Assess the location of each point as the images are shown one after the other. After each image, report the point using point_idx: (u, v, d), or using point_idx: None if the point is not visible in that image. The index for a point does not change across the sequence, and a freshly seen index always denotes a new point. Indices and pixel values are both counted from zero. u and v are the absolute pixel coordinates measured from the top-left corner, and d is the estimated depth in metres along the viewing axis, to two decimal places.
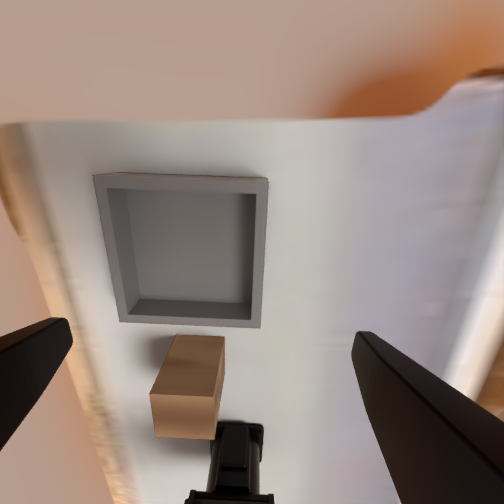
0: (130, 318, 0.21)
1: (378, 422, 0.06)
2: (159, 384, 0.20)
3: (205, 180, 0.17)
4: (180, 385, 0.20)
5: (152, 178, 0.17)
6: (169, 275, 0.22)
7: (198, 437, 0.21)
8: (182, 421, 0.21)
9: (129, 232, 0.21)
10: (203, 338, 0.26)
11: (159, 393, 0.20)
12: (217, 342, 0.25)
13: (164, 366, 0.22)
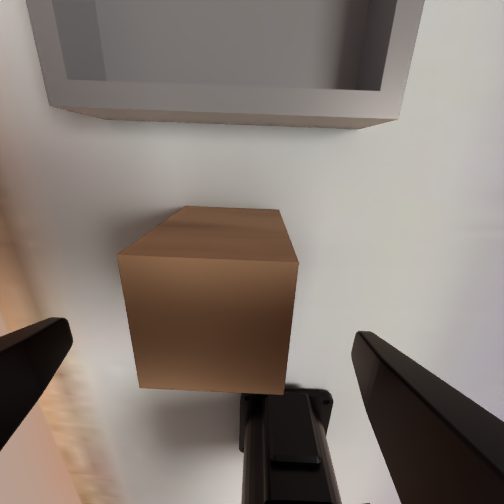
0: (75, 92, 0.08)
1: (378, 422, 0.06)
2: (146, 244, 0.08)
3: None
4: (201, 247, 0.08)
5: None
6: (172, 22, 0.10)
7: (243, 390, 0.09)
8: (207, 343, 0.08)
9: None
10: (238, 209, 0.13)
11: (145, 256, 0.07)
12: (268, 213, 0.12)
13: (160, 228, 0.09)
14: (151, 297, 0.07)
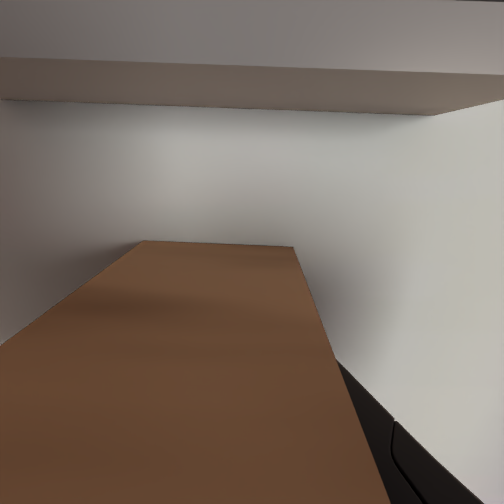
0: None
1: None
2: None
3: None
4: (98, 433, 0.03)
5: None
6: None
7: None
8: None
9: None
10: (228, 248, 0.08)
11: None
12: (276, 256, 0.07)
13: (52, 317, 0.04)
14: None
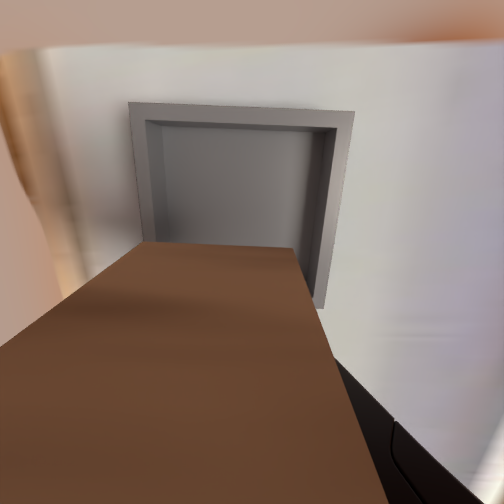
0: None
1: None
2: None
3: (272, 109, 0.13)
4: (95, 437, 0.03)
5: (204, 106, 0.13)
6: None
7: None
8: None
9: (164, 188, 0.17)
10: (227, 249, 0.08)
11: None
12: (276, 257, 0.07)
13: (51, 320, 0.04)
14: None
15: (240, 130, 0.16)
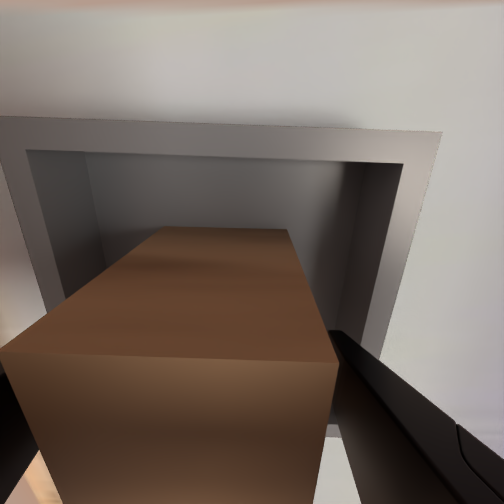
0: None
1: (342, 420, 0.06)
2: (70, 316, 0.04)
3: (276, 128, 0.07)
4: (164, 319, 0.04)
5: (140, 123, 0.07)
6: None
7: None
8: (178, 479, 0.05)
9: (98, 250, 0.10)
10: (233, 230, 0.10)
11: (54, 350, 0.04)
12: (273, 235, 0.09)
13: (113, 271, 0.06)
14: (72, 416, 0.04)
15: (219, 158, 0.09)
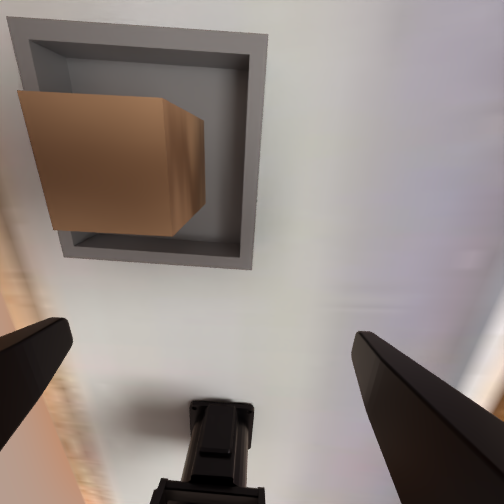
0: (77, 252, 0.16)
1: (378, 422, 0.06)
2: None
3: (174, 30, 0.12)
4: None
5: (95, 24, 0.11)
6: None
7: (139, 231, 0.10)
8: (102, 181, 0.10)
9: None
10: None
11: (42, 95, 0.09)
12: None
13: None
14: (50, 133, 0.09)
15: (155, 65, 0.14)
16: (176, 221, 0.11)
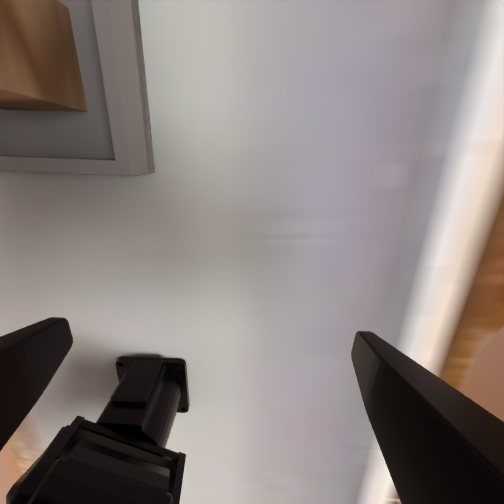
0: None
1: (378, 422, 0.06)
2: None
3: None
4: None
5: None
6: (11, 111, 0.16)
7: None
8: None
9: None
10: None
11: None
12: None
13: None
14: None
15: None
16: None
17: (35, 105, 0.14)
